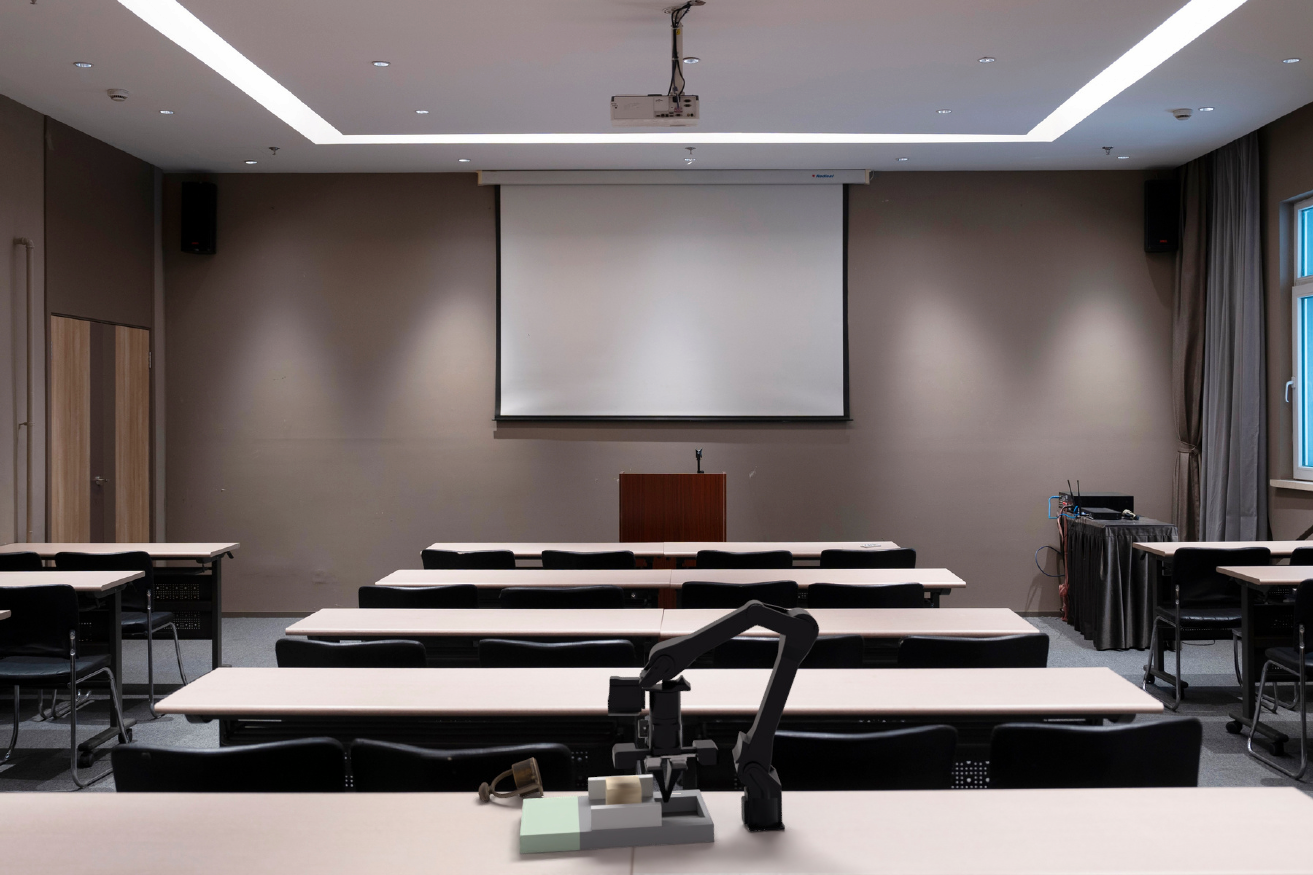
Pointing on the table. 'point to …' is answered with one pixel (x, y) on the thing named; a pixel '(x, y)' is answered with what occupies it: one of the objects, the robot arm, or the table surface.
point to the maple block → (623, 790)
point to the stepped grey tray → (614, 820)
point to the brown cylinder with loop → (516, 781)
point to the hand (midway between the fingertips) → (665, 801)
